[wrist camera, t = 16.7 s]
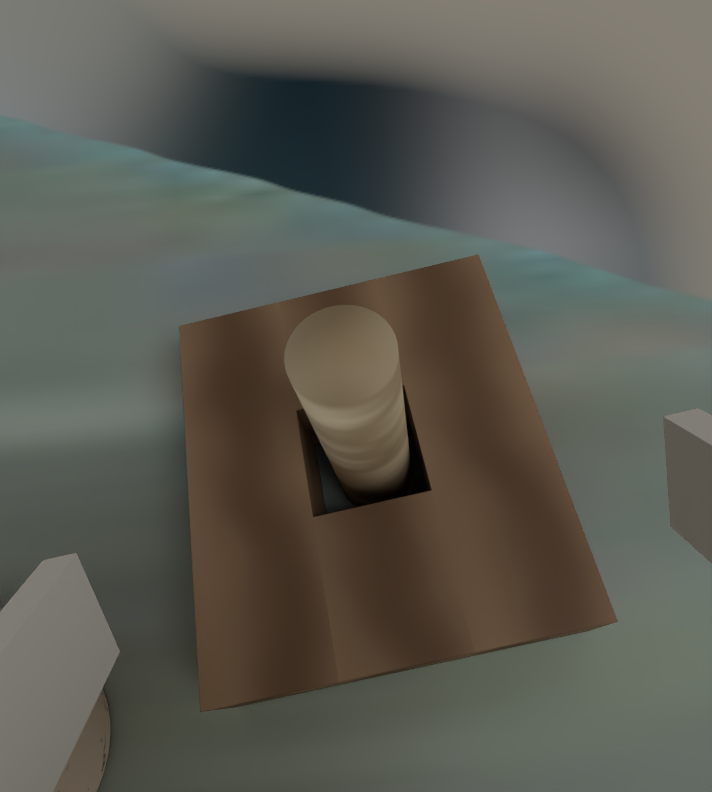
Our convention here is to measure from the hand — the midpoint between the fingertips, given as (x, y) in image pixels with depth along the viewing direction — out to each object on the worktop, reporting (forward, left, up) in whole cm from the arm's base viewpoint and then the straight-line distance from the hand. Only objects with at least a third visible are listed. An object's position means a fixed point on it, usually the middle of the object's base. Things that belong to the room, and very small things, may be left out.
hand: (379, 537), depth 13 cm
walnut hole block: (-1, +7, -15) cm, 17 cm away
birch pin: (0, +7, -15) cm, 17 cm away
